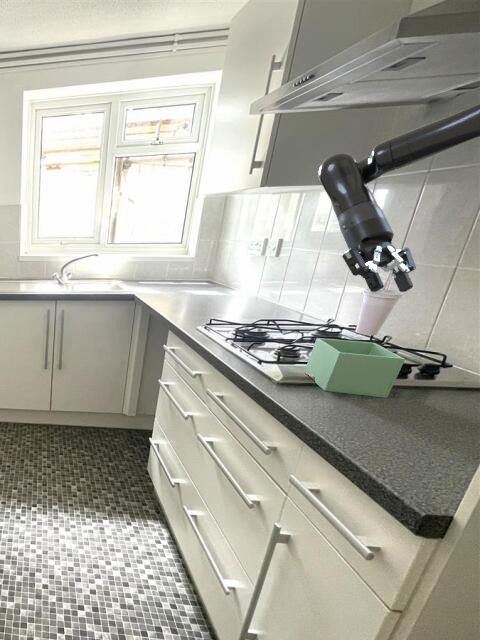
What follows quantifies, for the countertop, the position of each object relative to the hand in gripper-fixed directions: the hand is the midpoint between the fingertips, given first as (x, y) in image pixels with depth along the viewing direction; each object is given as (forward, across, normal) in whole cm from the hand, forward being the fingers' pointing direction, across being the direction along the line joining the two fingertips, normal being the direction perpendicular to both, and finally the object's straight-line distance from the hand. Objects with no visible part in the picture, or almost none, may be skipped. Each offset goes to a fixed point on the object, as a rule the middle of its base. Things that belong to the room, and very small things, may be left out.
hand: (392, 289), depth 90 cm
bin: (+15, +1, +19) cm, 24 cm away
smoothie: (+6, 0, +9) cm, 11 cm away
